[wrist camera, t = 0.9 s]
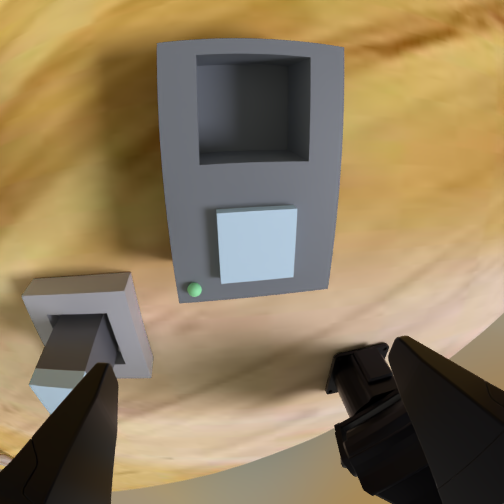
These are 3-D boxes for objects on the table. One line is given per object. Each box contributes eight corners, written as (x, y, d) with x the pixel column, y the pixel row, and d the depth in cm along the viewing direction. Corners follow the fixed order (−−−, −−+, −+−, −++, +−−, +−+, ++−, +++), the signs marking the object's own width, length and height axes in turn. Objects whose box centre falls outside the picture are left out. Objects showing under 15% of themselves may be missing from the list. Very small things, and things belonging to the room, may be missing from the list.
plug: (118, 346, 23) (102, 424, 16) (78, 346, 23) (54, 419, 16) (105, 308, 21) (79, 389, 14) (62, 310, 21) (28, 384, 14)
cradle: (153, 357, 26) (151, 377, 23) (67, 357, 24) (61, 376, 22) (130, 272, 21) (124, 290, 19) (33, 278, 20) (21, 295, 18)
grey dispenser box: (303, 252, 23) (331, 293, 18) (182, 261, 22) (179, 309, 17) (310, 58, 17) (349, 45, 12) (167, 58, 15) (155, 40, 10)
